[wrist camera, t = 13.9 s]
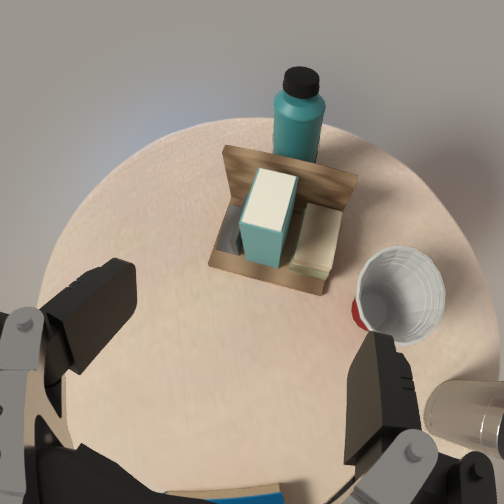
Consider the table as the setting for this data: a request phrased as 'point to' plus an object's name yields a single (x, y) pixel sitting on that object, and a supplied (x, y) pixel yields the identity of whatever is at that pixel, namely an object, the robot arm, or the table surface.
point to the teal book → (268, 216)
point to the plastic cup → (399, 295)
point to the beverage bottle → (298, 115)
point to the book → (237, 495)
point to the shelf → (302, 223)
